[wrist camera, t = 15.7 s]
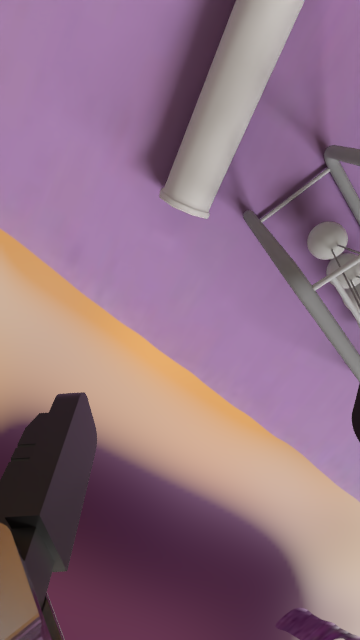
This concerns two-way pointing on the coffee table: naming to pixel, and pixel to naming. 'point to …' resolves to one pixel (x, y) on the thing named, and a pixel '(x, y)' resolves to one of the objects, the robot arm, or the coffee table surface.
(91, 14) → the coffee table surface
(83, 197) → the coffee table surface
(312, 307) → the newton's cradle
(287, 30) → the tube
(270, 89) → the coffee table surface
